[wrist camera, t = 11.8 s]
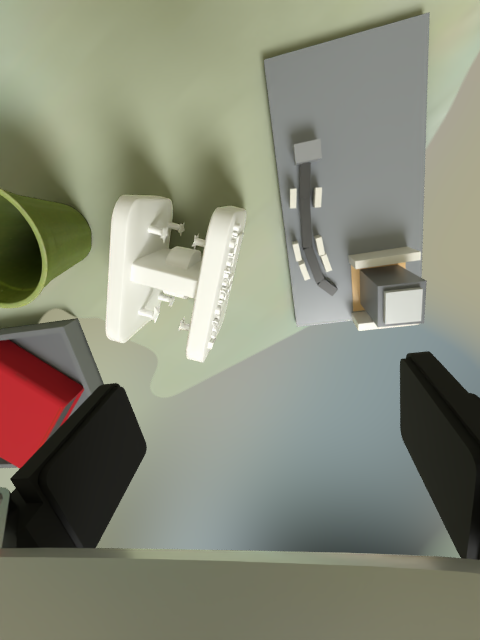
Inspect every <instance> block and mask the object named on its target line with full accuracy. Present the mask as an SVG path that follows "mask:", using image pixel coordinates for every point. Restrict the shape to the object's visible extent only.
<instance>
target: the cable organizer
mask: <svg viewBox="0 0 480 640" xmlns="http://www.w3.org/2000/svg"><path fill="white" fill-rule="evenodd" d="M172 220H173V204H172V201H171V199H169V198H165V197H161V196H153V195H122V196H120V197H119V199H118V200H117V202H116V204H115V206H114V209H113V213H112V219H111V234H110V252H109V271H108V289H107V307H106V326H105V327H106V335H107V337H108V338H109V339H110V340H114V341H117V342H121V343H125V342H126V341H128V340H129V339H130V338H131V337H132V336H133V335H134V334H135V333H136V332H138V331H139V330H140V329H141V328H142V327H143V326H144V325H145V324H146V323H148V322H149V321H150V320H151V321H152V320H153V319H154V323H155V322H156V320H157V318H158V315H159V313H160V311H159V309H160V305H161V301H162V300H163V301H166V302H170V304H169V306H170V305H171V307H172V304H173V302H174V301H175V299H174V297H175V296H176V297H180V298H183V299H188V298H195V301H194V306H193V311H192V317H191V323H190V324H187V323H185V321H184V318H185V316H184V318H183V320H181V322H180V326H179V329H180V331H181V329H183V330H187V331H189V334H188V340H187V346H186V357H187V358H188V359H191V360H195V361H198V362H204V360H205V359H206V357H207V355H208V353H209V351H210V349H212V347H213V344H214V342H215V340H216V337H217V335H218V333H219V331H220V328H221V326H222V323H223V320H224V317H225V313H226V308H227V304H228V300H229V295H230V291H231V287H232V282H233V278H234V273H235V269H236V264H237V260H238V256H239V251H240V247H241V243H242V238H243V234H244V229H245V223H246V209H243V208H239V207H235V206H225V207H217V208H216V209H215V210H214V212H213V214H212V216H211V219H210V222H209V226H208V230H207V234H206V239H205V240H204V239H200V238H198V236H199V234H198V235H197V237H196V235H195V237H194V242H193V244H192V246H194V249H190V248H185V247H180V246H175V247H174V248H173V249H169V243H170V235H171V229H174V230H178V233H180V237H181V234H182V232H183V231H185V230H184V223H185V222H184V223H183V224H181V223H180V224H176V223H172ZM196 245H197V246H201V247H204V250H203V256H202V254H201V252H200V251H199V250H195V247H196ZM192 246H191V247H192ZM163 292H164V293H165V294H168V295H172V296H173V297H170V296H166V295H163ZM169 306H168V307H169ZM179 329H178V330H179Z"/></svg>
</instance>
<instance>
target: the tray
mask: <svg viewBox="0 0 480 640" xmlns="http://www.w3.org/2000/svg"><path fill="white" fill-rule="evenodd" d="M1 340H10V341H11V342H13V343H15V344H16V345H18V346H19V347H21V348H23V349H24V350H26V351H27V352H29V353H31V354H32V355H34V356H35V357H37V358H39V359H40V360H42V361H43V362H45V363H47V364H48V365H50V366H51V367H53V368H55V369H56V370H58V371H59V372H61V373H63V374H64V375H66V376H67V377H69V378H71V379H72V380H74V381H75V382H77V383H79V384H80V385H82V386H83V387H84V391H83V393H82V394H81V396H80V398H79V400H78V401H77V403H76V405H75V407H74V408H73V410H72V412H71V414H70V415H69V417H70V416H71V415H72V414H73V413H74V412H75V411H76V410H77V409H78V408H79V406H80V405H81V404H82V403H83V402H84V401H85V400H86V399H87V398H88V397H89V396H90V395H91V394H92V393H93V392H94V391H95V390H96V389H97V388H98V387H99V386H100V385H104V384H103V381H102V379H101V376H100V373H99V371H98V368H97V366H96V363H95V361H94V358H93V356H92V353H91V351H90V348H89V346H88V343H87V341H86V338H85V336H84V333H83V330H82V328H81V325H80V323H79V320H78V318H77V319H70V320H62V321H55V322H49V323H40V324H33V325H26V326H18V327H11V328H4V329H0V341H1ZM69 417H68V418H69ZM0 468H16V466H15V465H13V464H11V463H9V462H8V461H6V460H4V459H3V458H1V457H0Z"/></svg>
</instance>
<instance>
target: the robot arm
mask: <svg viewBox="0 0 480 640" xmlns="http://www.w3.org/2000/svg"><path fill="white" fill-rule="evenodd" d="M400 412H401V413H400V417H401V418H400V423H401V424H400V426H401V427H400V428H401V435H402V438H403V441H404V443H405V445H406V447H407V449H408V451H409V453H410V455H411V457H412V460H413V461H414V464H415V465H416V468H417V470H418V472H419V474H420V476H421V478H422V480H423V482H424V484H425V486H426V488H427V490H428V492H429V494H430V496H431V498H432V500H433V502H434V504H435V507H436V509H437V511H438V512H439V515H440V517H441V519H442V521H443V523H444V525H445V527H446V529H447V531H448V533H449V535H450V537H451V539H452V541H453V543H454V545H455V547H456V550H457V551H458V553H459V555H460V557H461V558H451V557H438V556H413V555H389V554H366V553H327V552H285V551H242V550H240V551H238V550H185V549H122V548H121V549H120V548H96V546H97V544H98V543H99V541H100V539H101V537H102V535H103V533H104V531H105V529H106V527H107V525H108V524H109V522H110V520H111V518H112V516H113V514H114V512H115V510H116V508H117V507H118V505H119V503H120V501H121V499H122V497H123V495H124V493H125V491H126V490H127V487H128V486H129V484H130V482H131V480H132V478H133V476H134V474H135V472H136V471H137V469H138V467H139V465H140V463H141V461H142V459H143V457H144V455H145V453H146V448H147V447H146V442H145V439H144V437H143V435H142V432H141V429H140V427H139V425H138V422H137V419H136V417H135V414H134V412H133V409H132V407H131V404H130V402H129V400H128V397H127V394H126V392H125V390H124V388H123V387H120V385H119V384H116V383H115V384H114V383H113V384H104V385H100V386H99V387H98V388H97V389H96V390H95V391H94V392H93V393H92V394H91V395H90V396H89V397H88V398H87V399H86V400H85V401H84V402H83V403H82V404H81V405H80V406H79V408H78V409H77V410H76V411H75V412H74V413H73V414H72V415H71V416H70V417H69V418H68V419H67V420H66V421H65V422H64V423H63V424H62V425H61V426H60V427H59V428H58V429H57V431H56V432H55V433H54V434H53V435H52V436H51V437H50V438H49V439H48V440H47V441H46V442H45V443H44V444H43V445H42V446H41V447H40V448H39V449H38V450H37V451H36V452H35V454H34V455H33V456H32V457H31V458H30V459H29V460H28V461H27V462H26V463H25V464H24V465H23V466H22V467H21V468H20V469H19V470H18V471H17V472H16V473H15V474H14V475H13V477H12V478H11V481H12V483H13V484H14V486H15V487H16V489H15V490H14V491H13V492H12V493H10V491H9V490H8V489H6V488H2V487H0V640H480V398H479V397H478V396H476V395H475V394H472V393H468V392H467V391H466V390H465V389H464V388H463V387H462V386H461V384H460V383H459V382H458V381H457V380H456V379H455V378H454V377H453V376H452V375H451V374H450V373H449V372H448V371H447V369H446V368H445V367H444V366H443V365H442V364H441V363H440V362H439V361H438V360H437V359H436V358H435V357H434V356H433V354H431V353H430V352H419V353H409V354H407V356H406V359H401V361H400Z"/></svg>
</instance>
